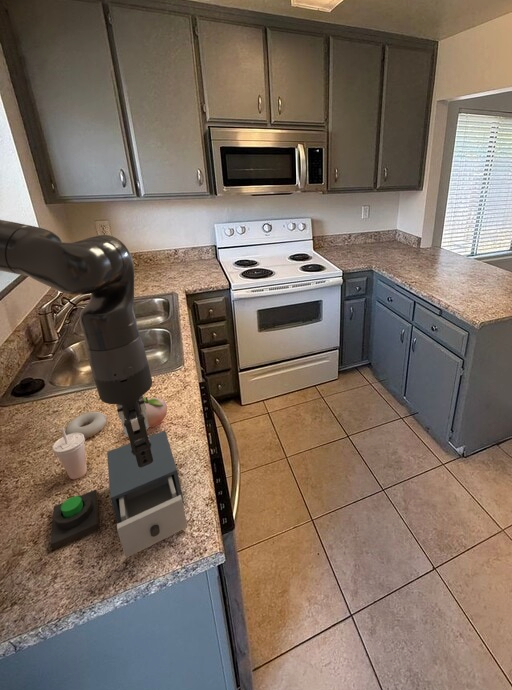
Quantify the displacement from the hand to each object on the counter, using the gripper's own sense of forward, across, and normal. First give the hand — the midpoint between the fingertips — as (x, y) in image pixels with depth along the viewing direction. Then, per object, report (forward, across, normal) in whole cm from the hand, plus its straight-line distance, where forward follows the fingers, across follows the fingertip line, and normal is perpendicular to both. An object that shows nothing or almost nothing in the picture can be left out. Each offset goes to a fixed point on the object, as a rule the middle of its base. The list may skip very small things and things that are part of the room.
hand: (142, 447), depth 61 cm
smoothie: (+26, -34, -15) cm, 45 cm away
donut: (+26, -50, -13) cm, 58 cm away
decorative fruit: (+26, -41, +3) cm, 49 cm away
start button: (+23, -19, -15) cm, 33 cm away
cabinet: (+26, -17, -1) cm, 31 cm away
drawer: (+25, -9, -2) cm, 27 cm away
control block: (+26, -19, -15) cm, 35 cm away
